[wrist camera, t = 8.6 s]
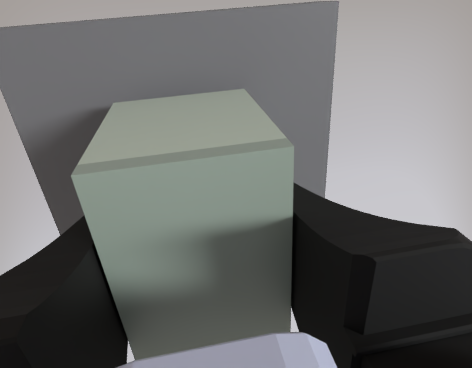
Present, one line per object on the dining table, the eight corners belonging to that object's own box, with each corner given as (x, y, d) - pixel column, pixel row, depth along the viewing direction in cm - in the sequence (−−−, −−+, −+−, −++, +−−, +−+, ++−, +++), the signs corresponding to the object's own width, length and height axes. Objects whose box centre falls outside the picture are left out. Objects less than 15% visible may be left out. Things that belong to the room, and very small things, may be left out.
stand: (306, 235, 19) (320, 258, 18) (94, 270, 18) (86, 299, 16) (317, 1, 14) (338, 1, 12) (4, 27, 12) (-24, 31, 10)
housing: (244, 88, 12) (294, 146, 7) (252, 243, 15) (290, 354, 10) (113, 102, 11) (70, 175, 6) (152, 260, 15) (143, 384, 10)
